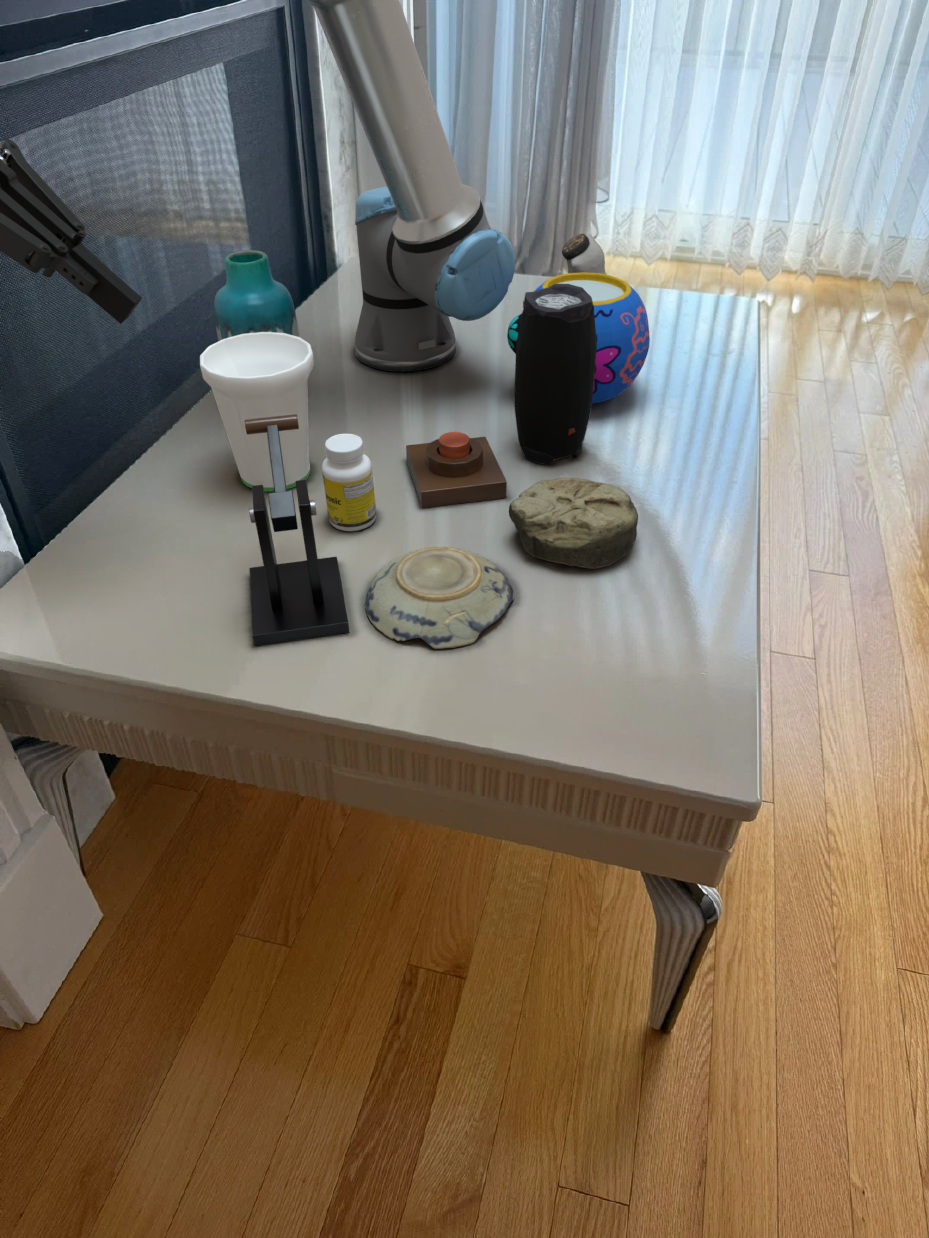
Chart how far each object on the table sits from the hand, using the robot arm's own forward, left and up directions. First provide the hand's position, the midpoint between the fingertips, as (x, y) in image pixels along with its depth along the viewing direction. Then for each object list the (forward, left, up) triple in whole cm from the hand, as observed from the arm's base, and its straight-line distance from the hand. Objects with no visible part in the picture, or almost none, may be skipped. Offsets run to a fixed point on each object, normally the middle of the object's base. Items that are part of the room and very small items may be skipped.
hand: (131, 311), depth 81 cm
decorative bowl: (+15, +25, -26) cm, 39 cm away
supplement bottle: (-1, +18, -26) cm, 32 cm away
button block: (-7, +31, -26) cm, 41 cm away
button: (-7, +31, -22) cm, 39 cm away
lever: (+8, +11, -14) cm, 20 cm away
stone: (+8, +41, -26) cm, 49 cm away
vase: (-34, +10, -26) cm, 44 cm away
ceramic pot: (-25, +52, -26) cm, 63 cm away
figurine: (-44, +60, -26) cm, 79 cm away
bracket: (+13, +11, -26) cm, 31 cm away
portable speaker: (-11, +44, -26) cm, 52 cm away
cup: (-13, +10, -26) cm, 31 cm away
